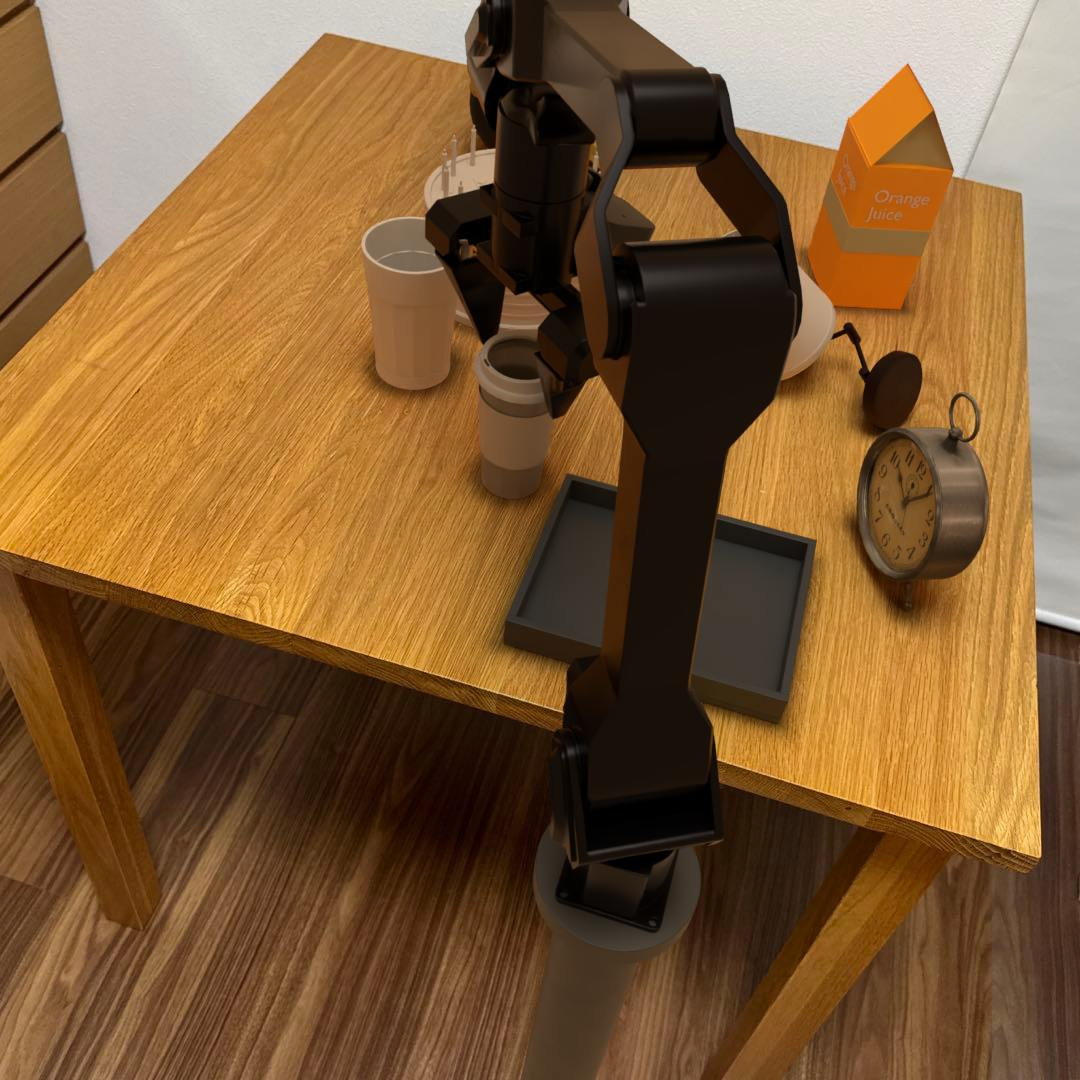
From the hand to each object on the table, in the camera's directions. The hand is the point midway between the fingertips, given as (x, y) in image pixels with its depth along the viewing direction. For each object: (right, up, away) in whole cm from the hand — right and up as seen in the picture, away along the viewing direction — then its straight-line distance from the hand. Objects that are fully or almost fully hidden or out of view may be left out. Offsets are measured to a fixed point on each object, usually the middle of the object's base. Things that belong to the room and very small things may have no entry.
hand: (521, 378), depth 81 cm
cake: (-1, +13, +26) cm, 29 cm away
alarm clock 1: (0, +30, +41) cm, 51 cm away
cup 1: (-10, +3, +16) cm, 19 cm away
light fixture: (+23, +2, +18) cm, 29 cm away
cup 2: (-1, -7, +8) cm, 10 cm away
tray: (+10, -16, 0) cm, 19 cm away
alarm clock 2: (+28, -13, +5) cm, 32 cm away
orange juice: (+32, +14, +30) cm, 46 cm away
